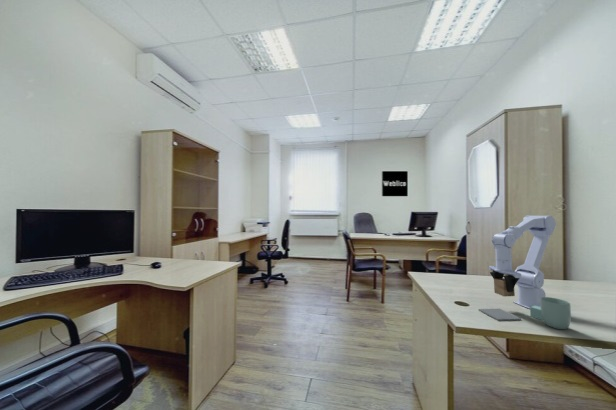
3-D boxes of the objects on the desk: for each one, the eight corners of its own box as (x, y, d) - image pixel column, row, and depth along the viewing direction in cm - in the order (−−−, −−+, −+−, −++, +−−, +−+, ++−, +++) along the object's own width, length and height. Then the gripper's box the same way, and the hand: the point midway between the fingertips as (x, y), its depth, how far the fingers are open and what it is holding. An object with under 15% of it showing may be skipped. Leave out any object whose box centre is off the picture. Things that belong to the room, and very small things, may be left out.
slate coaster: (499, 309, 105) (499, 308, 105) (521, 320, 95) (521, 318, 95) (478, 310, 104) (478, 309, 104) (497, 320, 94) (497, 319, 94)
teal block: (535, 314, 100) (535, 305, 100) (547, 318, 96) (547, 308, 96) (530, 316, 98) (530, 306, 98) (542, 320, 95) (542, 310, 95)
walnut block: (504, 292, 109) (503, 278, 109) (514, 296, 104) (513, 281, 104) (494, 292, 108) (493, 278, 109) (504, 296, 104) (503, 281, 104)
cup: (536, 322, 93) (535, 297, 93) (553, 321, 93) (552, 296, 94) (558, 332, 85) (557, 304, 85) (577, 331, 86) (576, 304, 86)
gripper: (482, 257, 114) (483, 284, 113) (509, 263, 99) (510, 295, 99) (496, 256, 114) (497, 284, 114) (525, 263, 100) (526, 295, 99)
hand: (504, 289), depth 106 cm, fingers closed on walnut block, 5 cm apart
